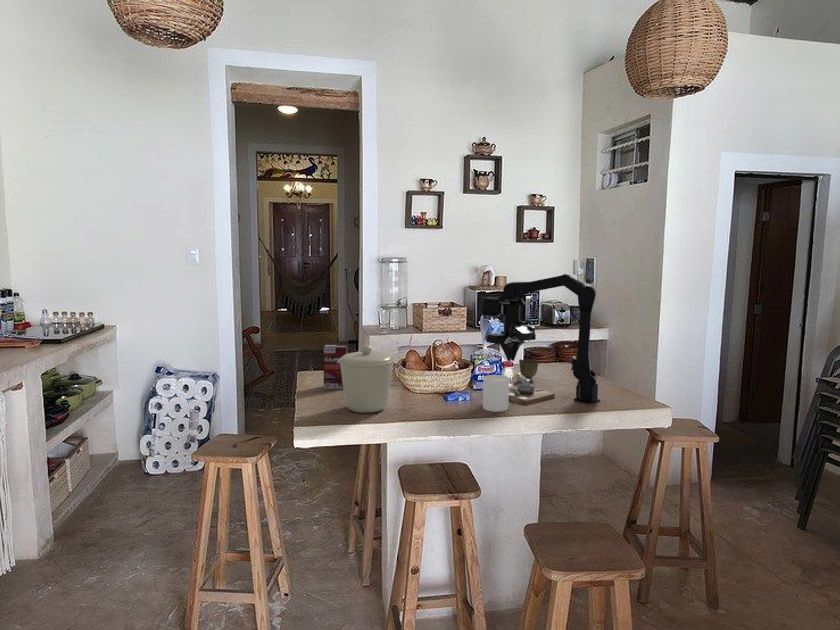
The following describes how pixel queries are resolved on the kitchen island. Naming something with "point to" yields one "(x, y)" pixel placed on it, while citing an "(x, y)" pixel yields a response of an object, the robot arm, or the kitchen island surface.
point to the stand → (529, 396)
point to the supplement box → (333, 366)
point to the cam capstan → (524, 385)
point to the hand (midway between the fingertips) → (510, 360)
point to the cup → (528, 368)
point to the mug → (495, 393)
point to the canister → (366, 379)
